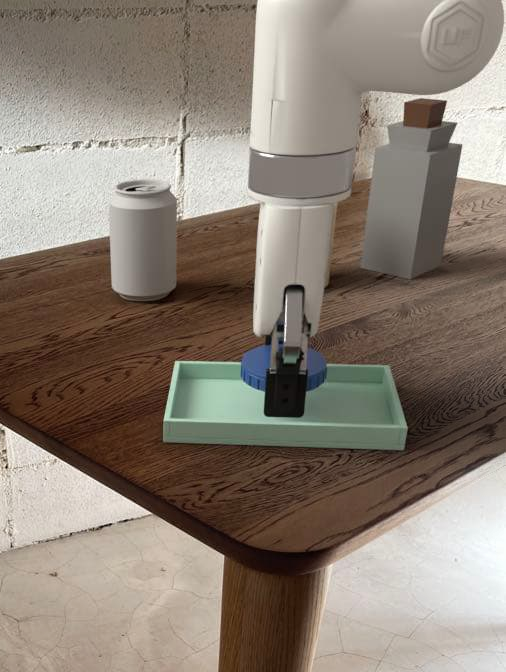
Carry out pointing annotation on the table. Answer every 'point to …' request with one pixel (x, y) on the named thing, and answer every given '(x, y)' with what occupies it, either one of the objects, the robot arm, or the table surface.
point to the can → (143, 239)
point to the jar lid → (260, 360)
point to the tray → (307, 431)
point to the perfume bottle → (411, 192)
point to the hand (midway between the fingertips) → (282, 393)
